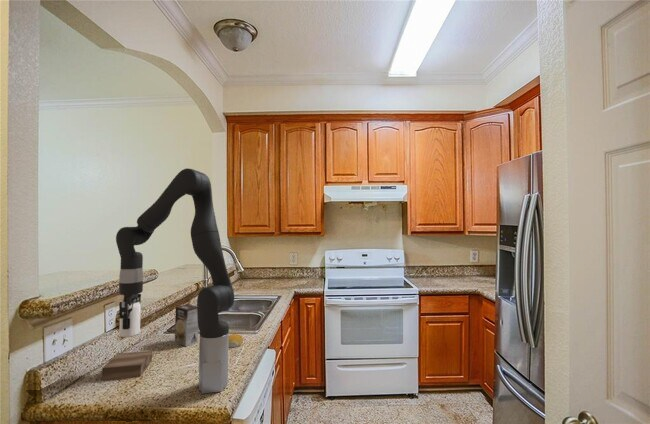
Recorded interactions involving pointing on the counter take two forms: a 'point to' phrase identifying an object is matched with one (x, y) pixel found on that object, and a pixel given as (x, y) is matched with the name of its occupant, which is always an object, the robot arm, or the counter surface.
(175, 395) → the counter surface
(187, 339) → the coffee box
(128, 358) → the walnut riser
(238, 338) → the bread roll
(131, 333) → the can
